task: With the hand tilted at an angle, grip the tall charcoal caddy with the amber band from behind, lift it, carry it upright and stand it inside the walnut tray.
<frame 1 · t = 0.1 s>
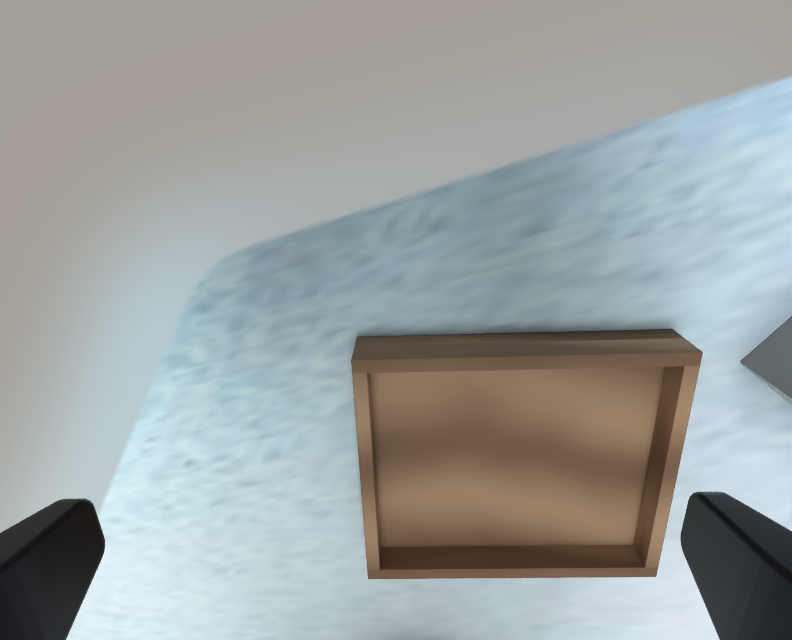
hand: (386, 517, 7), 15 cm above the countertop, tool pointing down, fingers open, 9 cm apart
tray: (507, 445, 24), on the countertop
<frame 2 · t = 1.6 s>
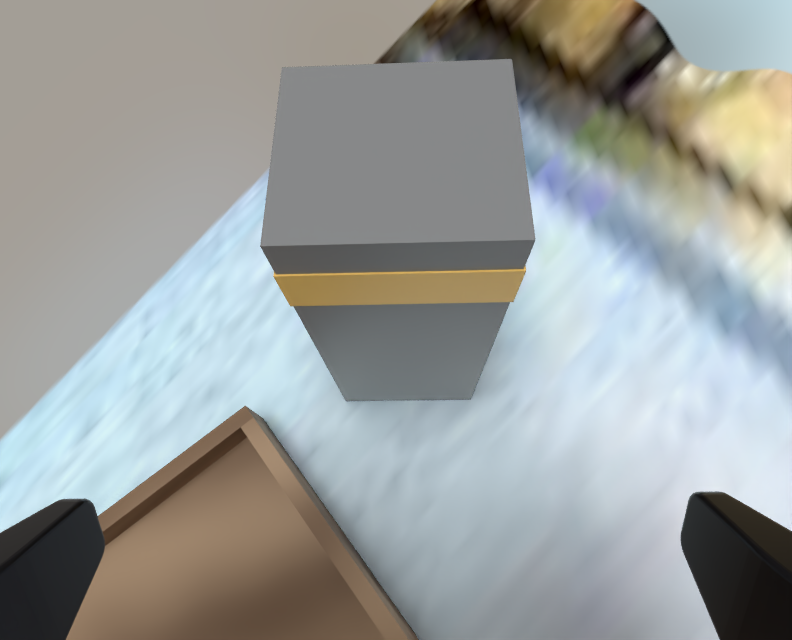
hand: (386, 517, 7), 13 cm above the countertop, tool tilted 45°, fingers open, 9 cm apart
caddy: (407, 346, 23), on the countertop
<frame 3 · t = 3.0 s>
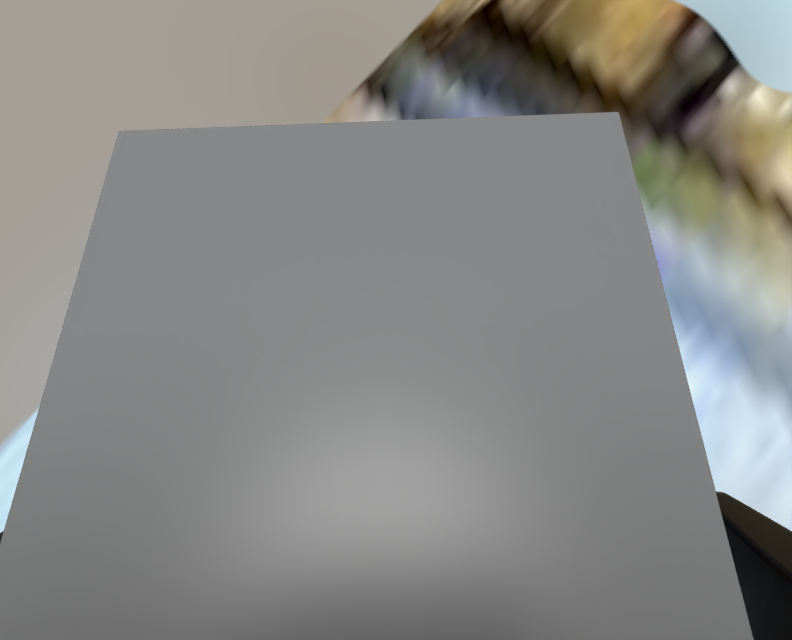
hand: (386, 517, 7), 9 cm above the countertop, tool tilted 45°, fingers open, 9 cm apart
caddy: (402, 483, 16), on the countertop
when the fingers open (9 cm above the countertop, at t = 9.5 s): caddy stays where it is, resting on tray.
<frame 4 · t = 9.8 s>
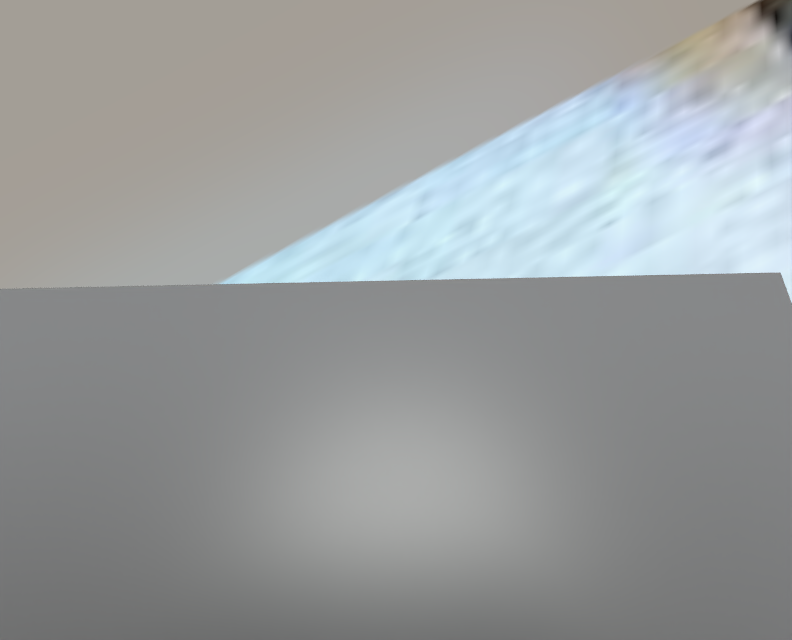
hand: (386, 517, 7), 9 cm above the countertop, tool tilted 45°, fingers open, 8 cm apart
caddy: (402, 577, 14), point 1 cm above the countertop, touching tray
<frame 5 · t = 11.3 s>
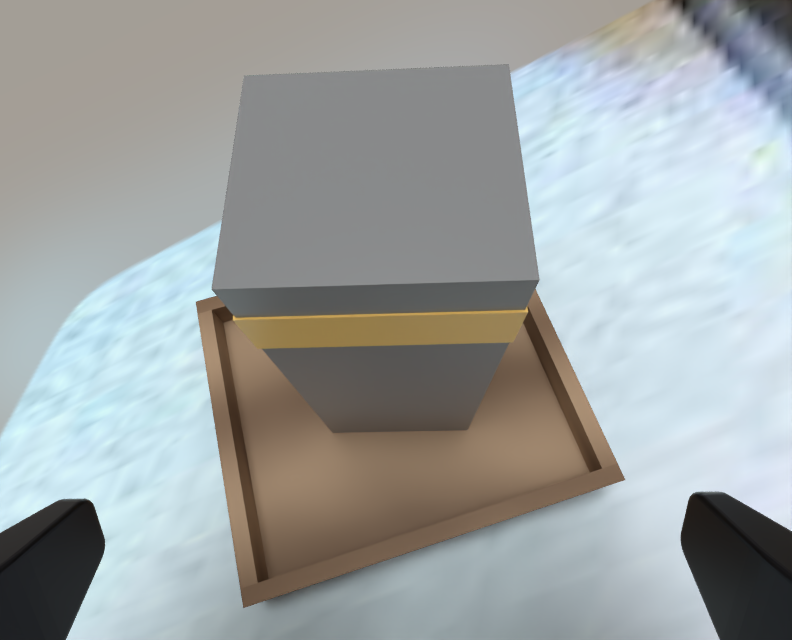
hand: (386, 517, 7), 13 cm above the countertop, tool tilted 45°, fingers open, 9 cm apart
tray: (393, 397, 22), on the countertop
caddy: (398, 372, 21), point 1 cm above the countertop, touching tray
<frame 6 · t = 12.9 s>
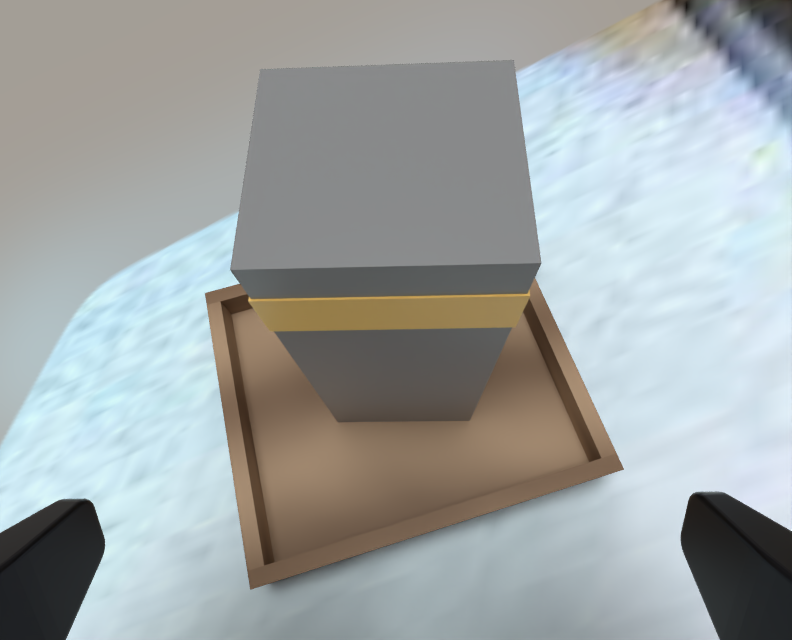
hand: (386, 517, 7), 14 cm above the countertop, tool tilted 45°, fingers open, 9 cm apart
tray: (397, 389, 22), on the countertop
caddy: (403, 364, 22), point 1 cm above the countertop, touching tray
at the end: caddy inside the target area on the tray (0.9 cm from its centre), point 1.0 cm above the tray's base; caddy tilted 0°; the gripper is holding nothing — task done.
